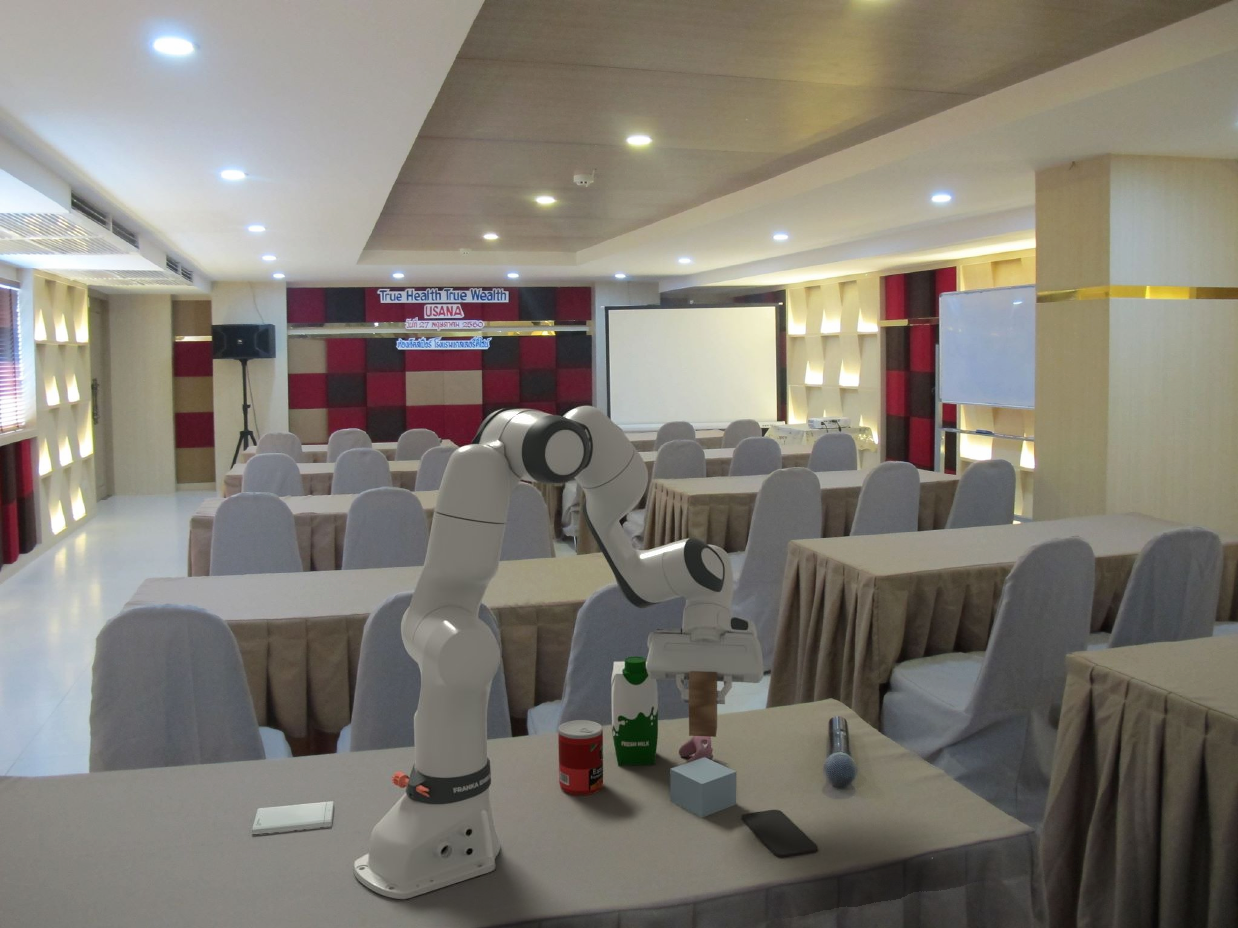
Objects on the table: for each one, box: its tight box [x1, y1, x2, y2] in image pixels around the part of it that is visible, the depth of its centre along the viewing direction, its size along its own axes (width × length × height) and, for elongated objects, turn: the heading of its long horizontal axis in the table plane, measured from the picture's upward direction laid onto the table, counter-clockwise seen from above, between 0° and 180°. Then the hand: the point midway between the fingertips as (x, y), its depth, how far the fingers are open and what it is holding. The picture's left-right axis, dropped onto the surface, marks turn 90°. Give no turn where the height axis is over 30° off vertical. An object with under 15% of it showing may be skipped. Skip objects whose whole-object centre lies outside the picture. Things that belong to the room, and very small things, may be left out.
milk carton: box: [610, 656, 659, 767], centre depth 193 cm, size 9×9×20 cm
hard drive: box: [251, 801, 335, 835], centre depth 169 cm, size 2×8×12 cm
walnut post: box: [688, 671, 718, 738], centre depth 172 cm, size 4×4×10 cm
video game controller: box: [678, 736, 714, 764], centre depth 190 cm, size 10×5×7 cm, turn 1°
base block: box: [669, 757, 737, 819], centre depth 174 cm, size 8×8×6 cm
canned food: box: [557, 719, 604, 796], centre depth 181 cm, size 8×8×11 cm
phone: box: [740, 809, 819, 859], centre depth 163 cm, size 7×1×15 cm
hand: (702, 701), depth 172 cm, fingers closed on walnut post, 4 cm apart
